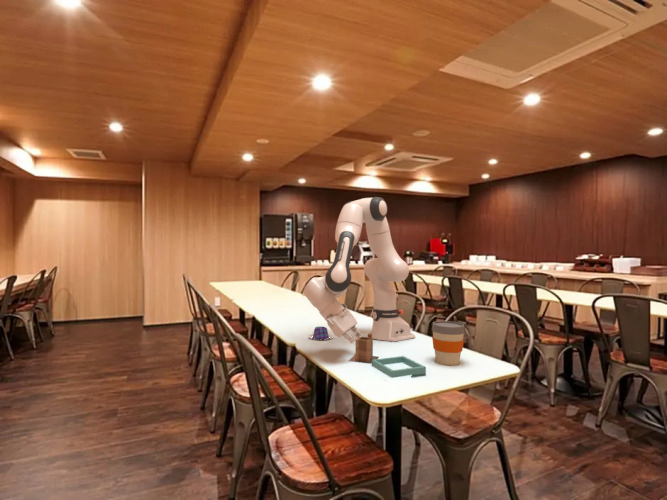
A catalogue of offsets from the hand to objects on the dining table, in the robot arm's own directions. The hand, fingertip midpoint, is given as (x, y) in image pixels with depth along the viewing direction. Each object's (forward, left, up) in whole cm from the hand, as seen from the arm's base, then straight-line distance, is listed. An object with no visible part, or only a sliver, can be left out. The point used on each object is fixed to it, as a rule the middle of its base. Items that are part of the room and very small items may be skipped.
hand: (356, 339), depth 153 cm
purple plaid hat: (0, -39, -9) cm, 40 cm away
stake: (-2, +2, -8) cm, 9 cm away
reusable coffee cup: (-33, +14, -9) cm, 37 cm away
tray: (-8, +17, -8) cm, 21 cm away
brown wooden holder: (-2, +2, -7) cm, 8 cm away
